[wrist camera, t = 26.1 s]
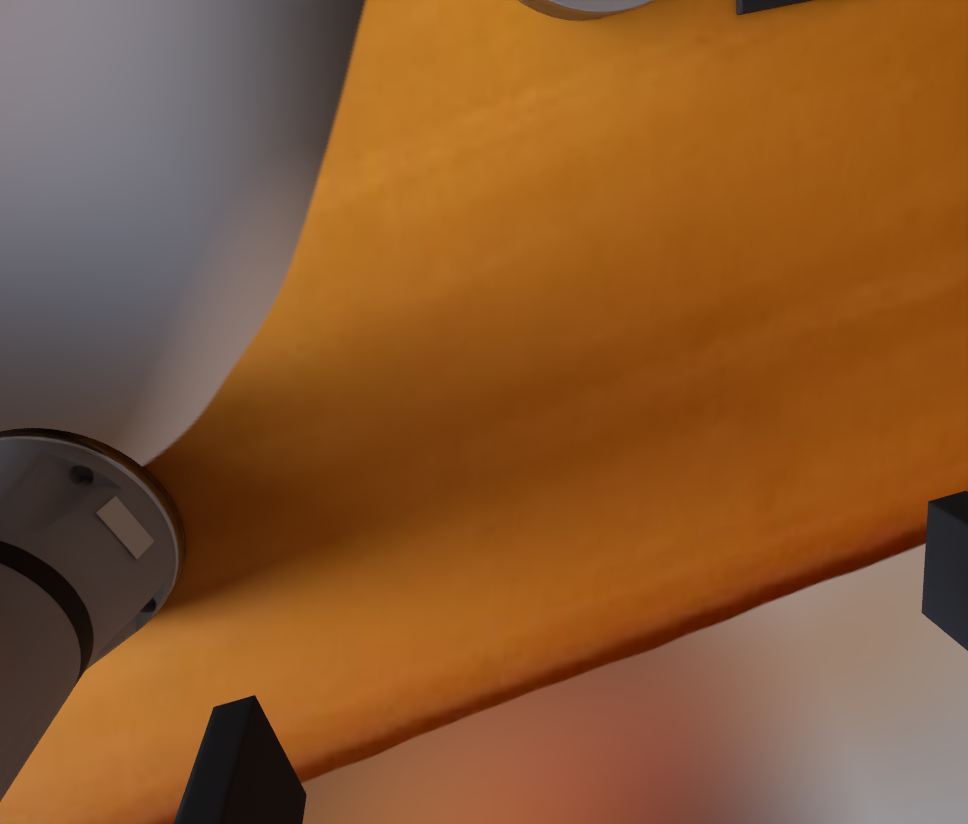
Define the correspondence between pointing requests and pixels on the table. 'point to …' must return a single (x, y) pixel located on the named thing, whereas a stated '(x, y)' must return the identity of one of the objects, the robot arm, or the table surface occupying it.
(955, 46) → the table surface
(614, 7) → the tin lid
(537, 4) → the tin
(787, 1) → the mat
